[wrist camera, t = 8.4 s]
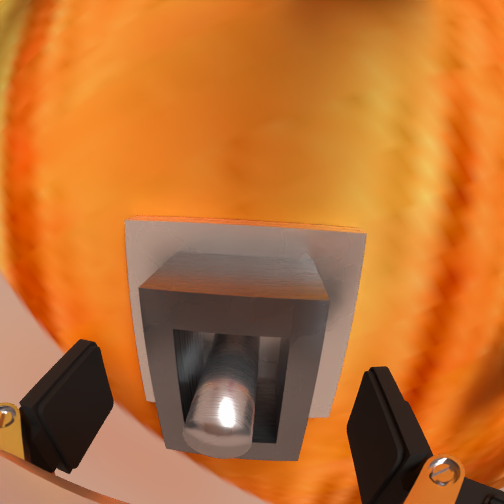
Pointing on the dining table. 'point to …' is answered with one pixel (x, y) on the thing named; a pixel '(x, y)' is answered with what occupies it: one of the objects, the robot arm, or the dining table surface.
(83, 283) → the dining table surface
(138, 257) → the keeper
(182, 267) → the grey rectangular frame
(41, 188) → the dining table surface
